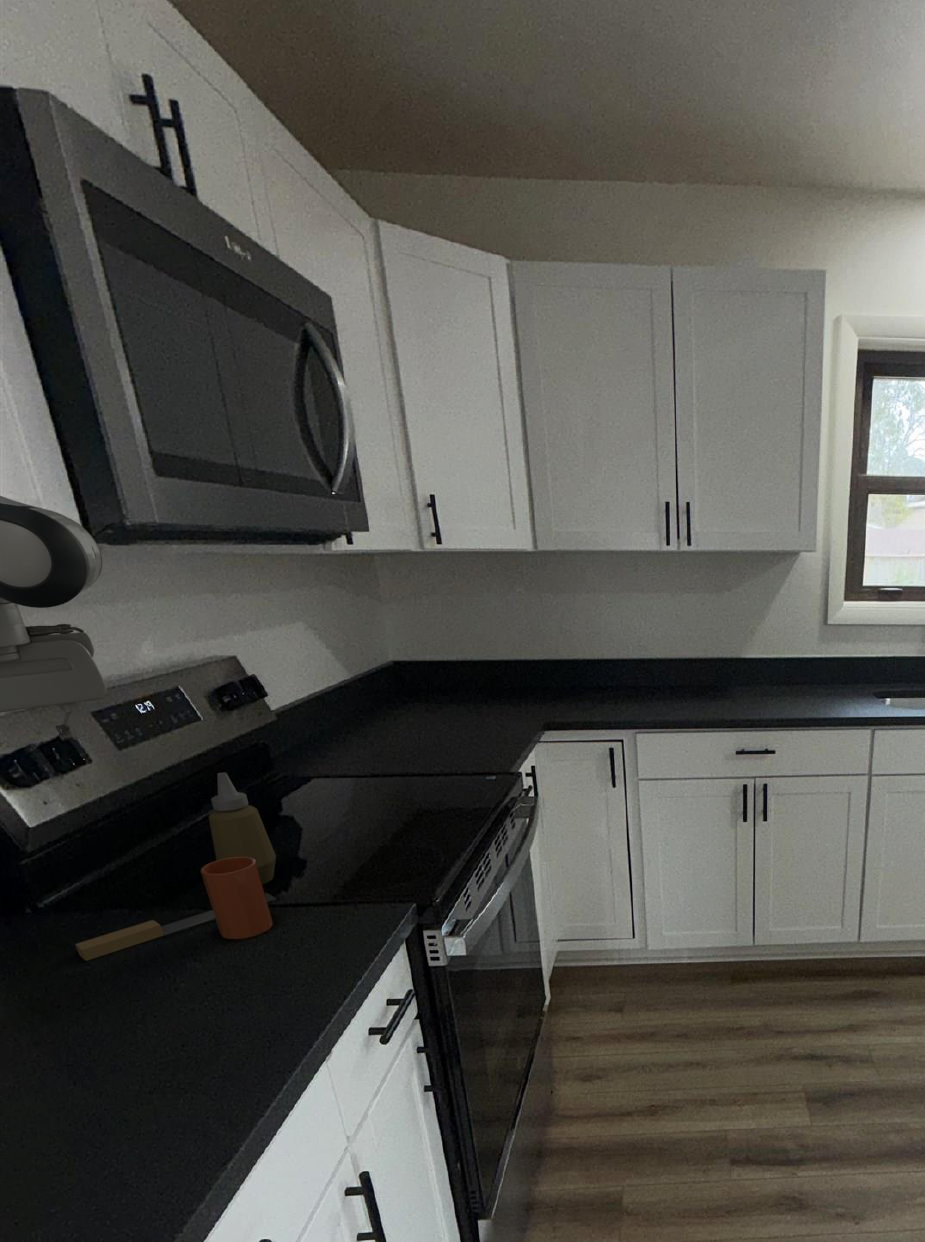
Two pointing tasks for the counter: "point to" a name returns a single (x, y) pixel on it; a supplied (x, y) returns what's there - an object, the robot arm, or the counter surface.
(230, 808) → the squeeze bottle
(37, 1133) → the counter surface
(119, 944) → the knife
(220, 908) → the cup
